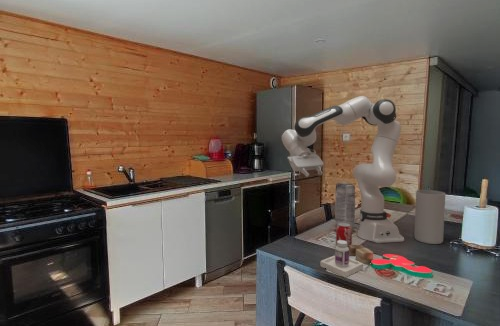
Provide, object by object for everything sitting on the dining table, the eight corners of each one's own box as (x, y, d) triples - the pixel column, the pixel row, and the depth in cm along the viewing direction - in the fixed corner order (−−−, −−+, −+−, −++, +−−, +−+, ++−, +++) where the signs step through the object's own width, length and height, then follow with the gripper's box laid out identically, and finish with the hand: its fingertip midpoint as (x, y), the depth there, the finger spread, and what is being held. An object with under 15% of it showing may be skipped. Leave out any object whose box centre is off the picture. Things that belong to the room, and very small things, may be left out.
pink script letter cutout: (368, 267, 116) (368, 262, 116) (386, 256, 126) (386, 251, 126) (421, 287, 101) (421, 280, 101) (437, 273, 111) (437, 267, 111)
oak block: (365, 258, 124) (366, 247, 123) (372, 263, 119) (373, 252, 118) (355, 259, 123) (355, 248, 122) (362, 264, 118) (362, 253, 117)
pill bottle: (345, 261, 118) (346, 239, 117) (350, 267, 113) (351, 244, 112) (333, 261, 118) (333, 239, 117) (337, 267, 113) (338, 244, 112)
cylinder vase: (414, 242, 142) (416, 193, 140) (413, 234, 153) (415, 189, 151) (444, 246, 136) (447, 195, 134) (441, 238, 147) (443, 191, 145)
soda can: (341, 252, 131) (341, 227, 130) (333, 246, 137) (333, 222, 136) (354, 250, 132) (355, 225, 131) (345, 245, 139) (346, 221, 138)
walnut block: (362, 253, 129) (362, 245, 129) (364, 257, 125) (365, 248, 125) (348, 253, 130) (349, 244, 130) (350, 256, 126) (351, 248, 126)
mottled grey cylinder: (355, 229, 162) (356, 183, 159) (335, 228, 164) (336, 183, 161) (352, 225, 170) (353, 181, 168) (334, 224, 172) (335, 180, 170)
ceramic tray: (338, 258, 124) (338, 253, 124) (363, 268, 114) (363, 263, 114) (320, 266, 117) (320, 261, 117) (345, 277, 107) (345, 272, 107)
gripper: (289, 151, 140) (303, 172, 133) (316, 150, 152) (331, 169, 145) (283, 159, 144) (296, 181, 137) (310, 157, 156) (324, 177, 149)
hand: (314, 175), depth 141 cm, fingers open, 8 cm apart
